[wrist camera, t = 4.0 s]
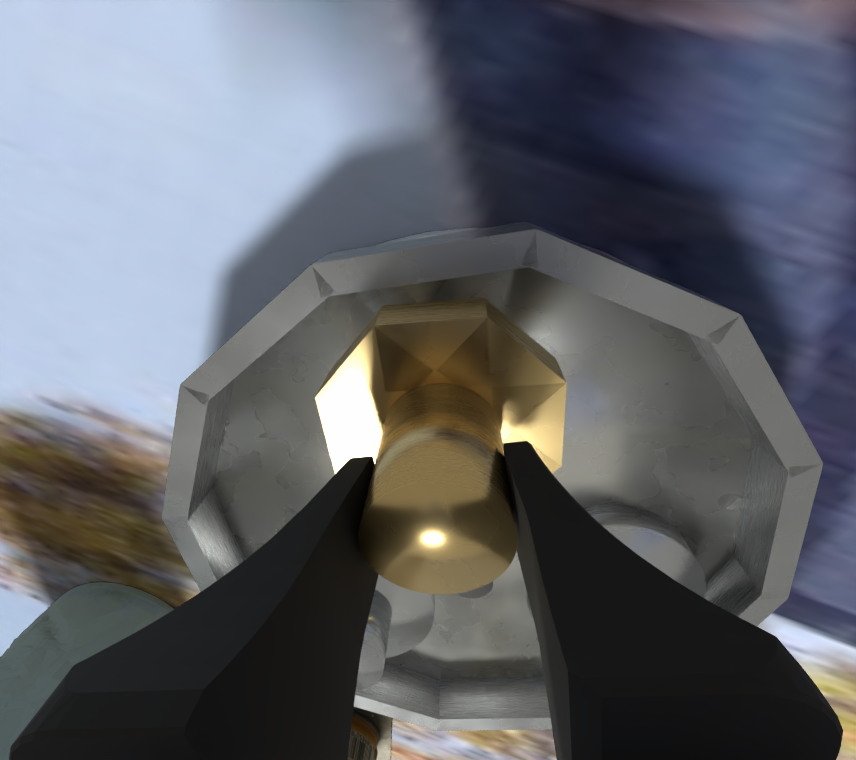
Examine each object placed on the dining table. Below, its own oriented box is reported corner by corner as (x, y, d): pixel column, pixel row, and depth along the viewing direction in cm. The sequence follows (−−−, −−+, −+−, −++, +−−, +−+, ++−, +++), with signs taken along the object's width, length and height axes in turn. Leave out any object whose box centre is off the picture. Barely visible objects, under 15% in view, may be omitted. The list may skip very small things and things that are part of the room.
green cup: (228, 680, 28) (84, 997, 17) (87, 682, 29) (-130, 979, 19) (168, 566, 24) (-73, 891, 13) (6, 574, 25) (-336, 877, 14)
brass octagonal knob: (558, 291, 12) (625, 394, 7) (550, 483, 16) (592, 638, 11) (313, 311, 13) (229, 417, 8) (356, 490, 16) (314, 640, 11)
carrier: (800, 171, 14) (987, 172, 9) (715, 653, 24) (782, 779, 19) (124, 280, 17) (-14, 325, 12) (298, 666, 27) (261, 778, 22)
